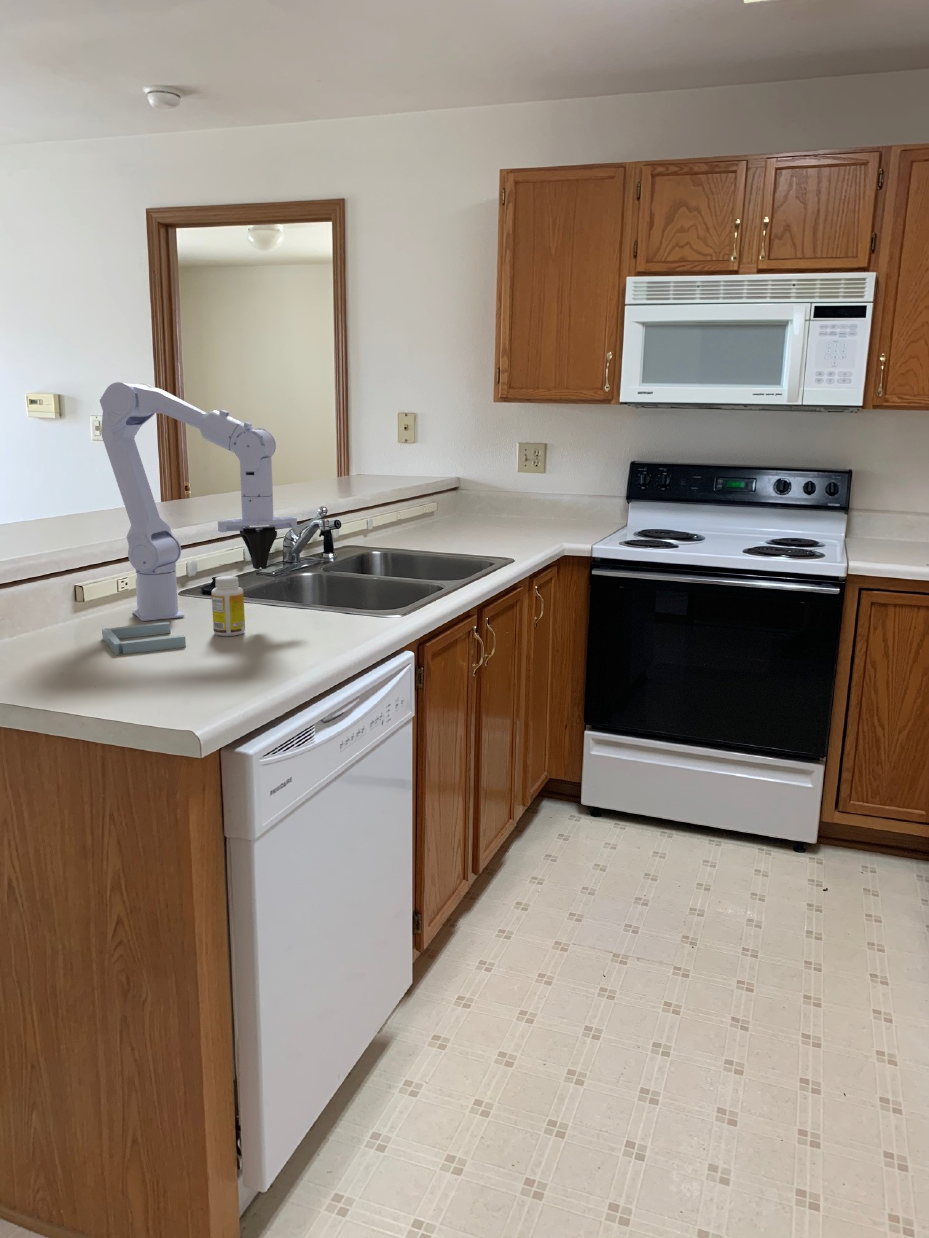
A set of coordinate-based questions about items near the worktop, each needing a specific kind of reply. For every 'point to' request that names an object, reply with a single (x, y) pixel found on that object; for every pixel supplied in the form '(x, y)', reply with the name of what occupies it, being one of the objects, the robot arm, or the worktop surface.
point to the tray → (118, 647)
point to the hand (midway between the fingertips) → (259, 568)
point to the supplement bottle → (228, 607)
